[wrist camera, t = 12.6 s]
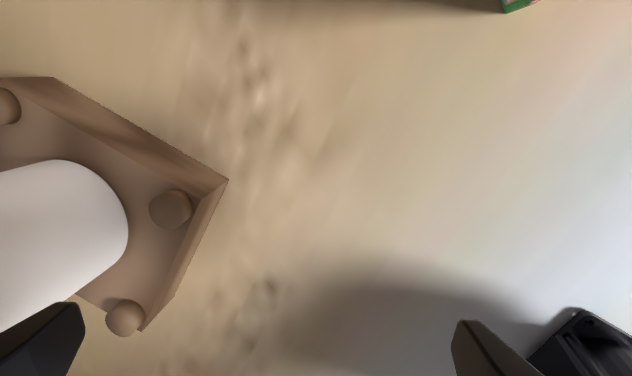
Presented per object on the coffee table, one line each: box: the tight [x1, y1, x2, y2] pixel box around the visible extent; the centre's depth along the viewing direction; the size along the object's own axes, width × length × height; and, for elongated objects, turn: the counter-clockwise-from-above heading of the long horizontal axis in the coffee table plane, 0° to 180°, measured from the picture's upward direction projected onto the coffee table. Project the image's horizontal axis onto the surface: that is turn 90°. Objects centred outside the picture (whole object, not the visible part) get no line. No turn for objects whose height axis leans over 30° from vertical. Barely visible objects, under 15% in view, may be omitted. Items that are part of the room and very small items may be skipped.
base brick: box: [0, 77, 229, 337], centre depth 20 cm, size 12×10×4 cm
